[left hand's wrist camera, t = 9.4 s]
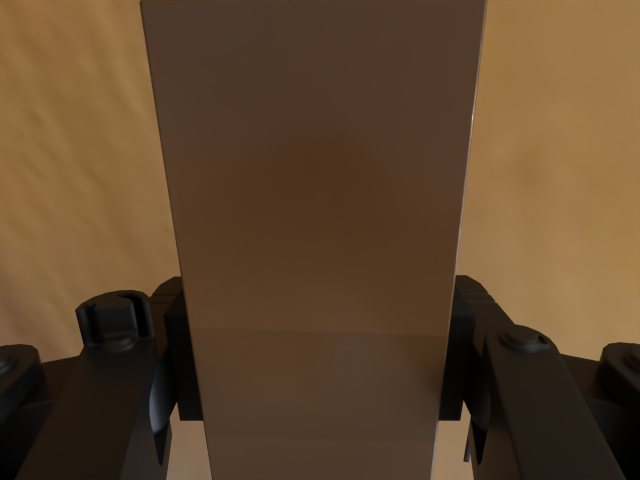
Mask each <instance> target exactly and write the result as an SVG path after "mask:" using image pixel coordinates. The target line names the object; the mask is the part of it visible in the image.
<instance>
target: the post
mask: <svg viewBox="0 0 640 480" xmlns="http://www.w3.org/2000/svg"><path fill="white" fill-rule="evenodd" d="M487 1H488V0H141V1H140V10H141V16H142V23H143V29H144V36H145V42H146V49H147V55H148V62H149V69H150V75H151V82H152V88H153V95H154V101H155V108H156V114H157V121H158V128H159V134H160V141H161V147H162V154H163V160H164V167H165V173H166V180H167V187H168V193H169V200H170V206H171V213H172V219H173V226H174V232H175V239H176V246H177V252H178V259H179V265H180V272H181V278H182V285H183V291H184V298H185V304H186V311H187V318H188V324H189V331H190V337H191V344H192V350H193V357H194V363H195V370H196V377H197V383H198V390H199V396H200V403H201V409H202V416H203V422H204V429H205V436H206V442H207V449H208V455H209V462H210V468H211V475H212V480H432V474H433V465H434V457H435V448H436V440H437V431H438V422H439V414H440V405H441V397H442V388H443V379H444V371H445V362H446V354H447V345H448V336H449V328H450V319H451V311H452V302H453V293H454V285H455V276H456V268H457V259H458V251H459V242H460V233H461V225H462V216H463V208H464V199H465V190H466V182H467V173H468V165H469V156H470V147H471V139H472V130H473V122H474V113H475V105H476V96H477V87H478V79H479V70H480V62H481V53H482V44H483V36H484V27H485V19H486V10H487Z"/></svg>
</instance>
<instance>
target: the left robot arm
mask: <svg viewBox="0 0 640 480" xmlns="http://www.w3.org/2000/svg"><path fill="white" fill-rule="evenodd" d="M75 312H76V316H77V320H78V324H79V328H80V332H81V336H82V340H83V344H84V348H83V350H82V351H81V353H80V355H79V356H75V357H71V358H66V359H60V360H55V361H50V362H44V363H41V359H40V356H39V353H38V350H37V349H36V348H34V347H33V346H31V345H24V344H17V345H5V346H0V480H166V477H167V470H168V462H169V455H170V447H171V439H172V431H171V425H170V419H169V418H170V415H171V413H172V411H173V409H174V407H175V405H176V402H177V404H178V410H179V416H180V421H203V416H202V409H201V403H200V396H199V390H198V383H197V377H196V370H195V363H194V357H193V350H192V344H191V337H190V331H189V324H188V318H187V311H186V304H185V298H184V291H183V285H182V278H181V277H173V278H171V279H169V280H167V281H166V282H164V283H162V284H161V285H160V286H159V287H158V288H157V289H156V290H155V292H154V293H153V294H152V296H150V298H149V297H148V296H147V295H146V294H145V293H143V292H140V291H135V290H119V291H114V292H108V293H104V294H101V295H98V296H95V297H93V298H91V299H89V300H87V301H85V302H83V303H82V304H81V305H80V306H79V307H78V308H77V309H76V310H75ZM463 400H464V402H465V404H466V406H467V408H468V410H469V413H470V415H471V419H470V425H469V430H468V436H467V442H466V448H465V454H464V462H469V459H470V454H471V461H472V469H473V477H474V480H640V344H635V343H622V342H618V343H611V344H608V345H607V346H605V347H604V348H603V351H602V354H601V357H600V361H595V360H590V359H584V358H579V357H574V356H568V355H564V354H560V353H559V351H558V349H557V347H556V345H555V344H554V343H553V342H552V341H551V340H550V338H548V337H547V336H545V335H543V334H542V333H540V332H539V331H536V330H534V329H531V328H529V327H526V326H521V325H516V324H514V323H513V322H512V320H511V319H510V318H509V317H508V316H507V314H506V313H505V312H504V311H503V310H502V308H501V307H500V306H499V305H498V304H497V303H495V300H494V299H493V298H492V297H491V295H488V292H487V291H486V289H485V288H484V287H483V286H482V285H481V284H480V283H479V282H477V281H475V280H474V279H472V278H470V277H468V276H467V275H456V276H455V285H454V293H453V302H452V311H451V319H450V328H449V336H448V345H447V354H446V362H445V371H444V379H443V388H442V397H441V405H440V414H439V421H460V418H461V412H462V406H463Z"/></svg>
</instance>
